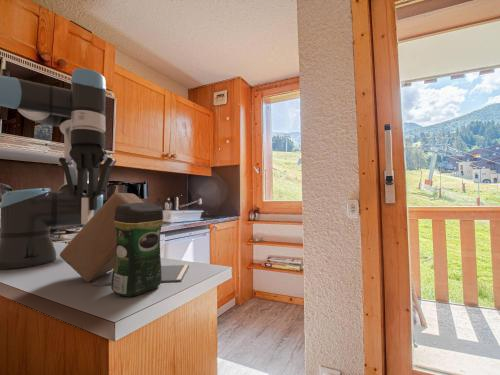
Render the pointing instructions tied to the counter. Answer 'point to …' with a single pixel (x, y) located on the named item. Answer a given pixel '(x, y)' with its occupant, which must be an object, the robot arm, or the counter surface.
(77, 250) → the wooden block
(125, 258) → the coffee jar
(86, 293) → the counter surface
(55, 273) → the counter surface
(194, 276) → the counter surface
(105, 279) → the gray book
